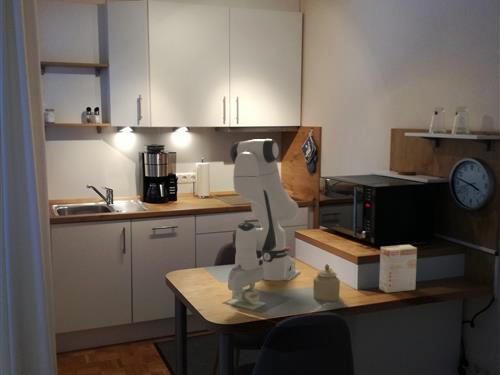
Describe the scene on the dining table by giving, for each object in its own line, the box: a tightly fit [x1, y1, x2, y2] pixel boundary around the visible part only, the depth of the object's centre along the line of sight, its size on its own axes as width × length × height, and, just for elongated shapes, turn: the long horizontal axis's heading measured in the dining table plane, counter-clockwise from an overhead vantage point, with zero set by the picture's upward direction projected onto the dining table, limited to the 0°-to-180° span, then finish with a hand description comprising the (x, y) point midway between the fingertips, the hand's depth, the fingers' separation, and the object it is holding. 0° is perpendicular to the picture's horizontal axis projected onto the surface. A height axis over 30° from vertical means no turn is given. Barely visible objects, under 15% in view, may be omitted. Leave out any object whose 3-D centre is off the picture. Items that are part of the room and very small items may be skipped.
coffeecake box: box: [378, 244, 418, 294], centre depth 257 cm, size 15×7×20 cm, turn 108°
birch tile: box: [231, 287, 259, 303], centre depth 235 cm, size 10×5×4 cm, turn 54°
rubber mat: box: [222, 288, 294, 314], centre depth 240 cm, size 24×20×1 cm
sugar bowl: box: [312, 264, 341, 303], centre depth 246 cm, size 15×11×15 cm
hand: (245, 295), depth 235 cm, fingers closed on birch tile, 5 cm apart
